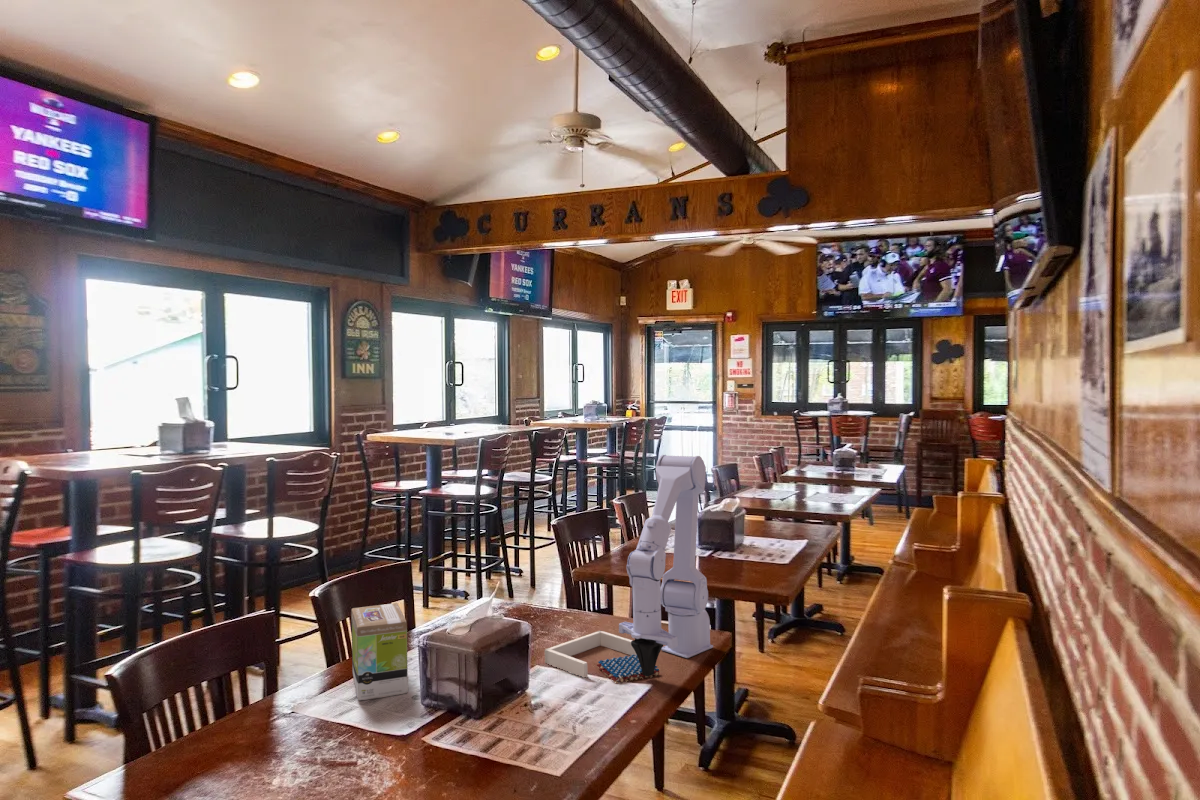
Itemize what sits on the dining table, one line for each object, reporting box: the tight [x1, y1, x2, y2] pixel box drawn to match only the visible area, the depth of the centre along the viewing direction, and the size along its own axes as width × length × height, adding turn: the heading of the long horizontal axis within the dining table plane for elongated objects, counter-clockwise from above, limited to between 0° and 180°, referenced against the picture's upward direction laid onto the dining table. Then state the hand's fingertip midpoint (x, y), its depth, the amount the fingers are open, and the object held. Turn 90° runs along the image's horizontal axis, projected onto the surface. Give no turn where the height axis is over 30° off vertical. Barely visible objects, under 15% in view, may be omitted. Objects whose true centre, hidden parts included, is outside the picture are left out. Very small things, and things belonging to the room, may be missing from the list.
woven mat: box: [596, 654, 660, 684], centre depth 164 cm, size 10×11×2 cm
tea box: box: [350, 602, 409, 701], centre depth 160 cm, size 15×10×15 cm, turn 22°
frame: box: [544, 630, 637, 678], centre depth 171 cm, size 17×12×3 cm
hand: (648, 674), depth 159 cm, fingers closed
